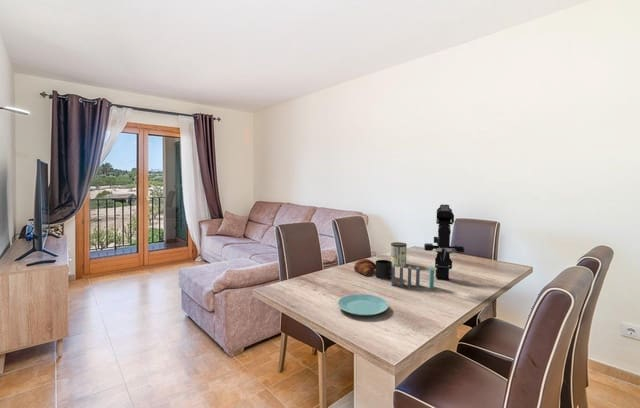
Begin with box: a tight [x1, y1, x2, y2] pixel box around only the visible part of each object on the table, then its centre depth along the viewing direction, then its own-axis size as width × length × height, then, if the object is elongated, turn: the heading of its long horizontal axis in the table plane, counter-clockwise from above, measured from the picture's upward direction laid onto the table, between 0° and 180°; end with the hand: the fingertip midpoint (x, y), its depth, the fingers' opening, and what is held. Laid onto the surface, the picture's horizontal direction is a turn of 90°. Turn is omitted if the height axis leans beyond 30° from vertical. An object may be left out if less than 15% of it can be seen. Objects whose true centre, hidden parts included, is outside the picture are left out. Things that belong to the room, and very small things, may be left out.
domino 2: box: [399, 266, 404, 288], centre depth 165 cm, size 2×5×10 cm, turn 165°
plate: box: [337, 293, 390, 317], centre depth 135 cm, size 22×22×3 cm
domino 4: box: [415, 266, 421, 289], centre depth 163 cm, size 2×5×10 cm, turn 165°
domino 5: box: [428, 267, 435, 290], centre depth 161 cm, size 2×5×10 cm, turn 166°
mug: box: [374, 259, 392, 280], centre depth 178 cm, size 9×12×9 cm
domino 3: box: [407, 265, 412, 288], centre depth 164 cm, size 2×5×10 cm, turn 165°
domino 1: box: [391, 265, 396, 287], centre depth 166 cm, size 2×5×10 cm, turn 165°
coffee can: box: [390, 241, 408, 267], centre depth 206 cm, size 10×10×14 cm
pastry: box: [353, 258, 376, 277], centre depth 191 cm, size 17×15×8 cm
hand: (443, 264), depth 159 cm, fingers closed
